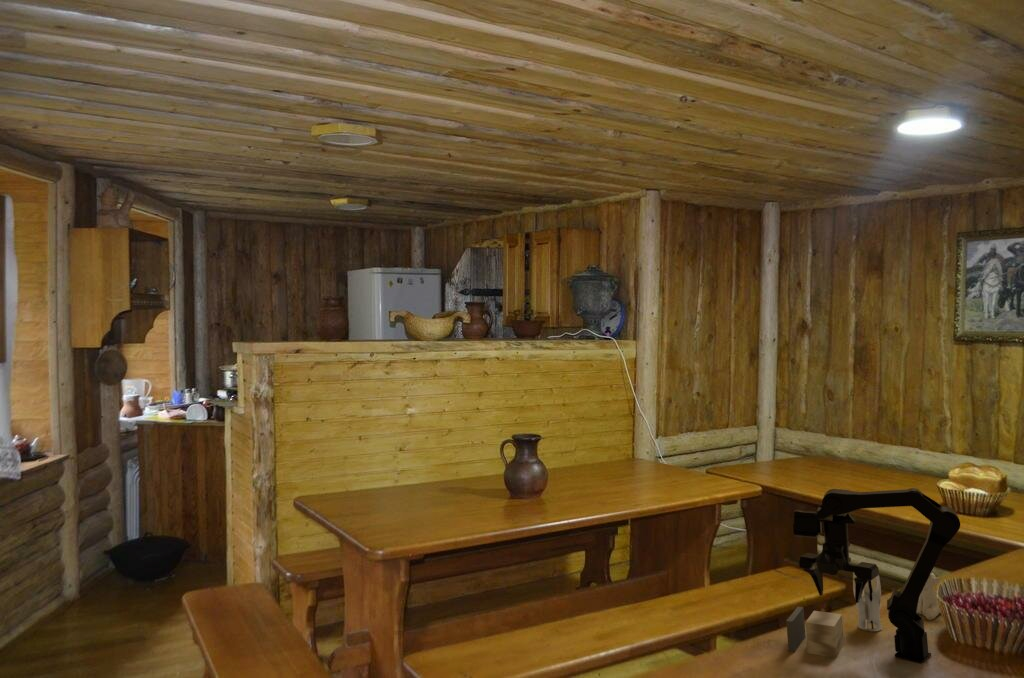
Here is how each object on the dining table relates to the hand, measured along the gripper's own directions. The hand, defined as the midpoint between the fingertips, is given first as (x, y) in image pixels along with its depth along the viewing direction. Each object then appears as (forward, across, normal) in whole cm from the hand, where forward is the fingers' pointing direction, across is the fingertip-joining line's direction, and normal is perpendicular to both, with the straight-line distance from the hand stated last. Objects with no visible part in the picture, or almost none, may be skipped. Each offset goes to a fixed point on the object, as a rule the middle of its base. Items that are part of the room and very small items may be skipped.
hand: (838, 598), depth 195 cm
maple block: (+13, -3, -2) cm, 14 cm away
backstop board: (+13, -10, -4) cm, 17 cm away
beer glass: (+13, +1, +18) cm, 22 cm away
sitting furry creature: (+13, +10, +39) cm, 42 cm away
